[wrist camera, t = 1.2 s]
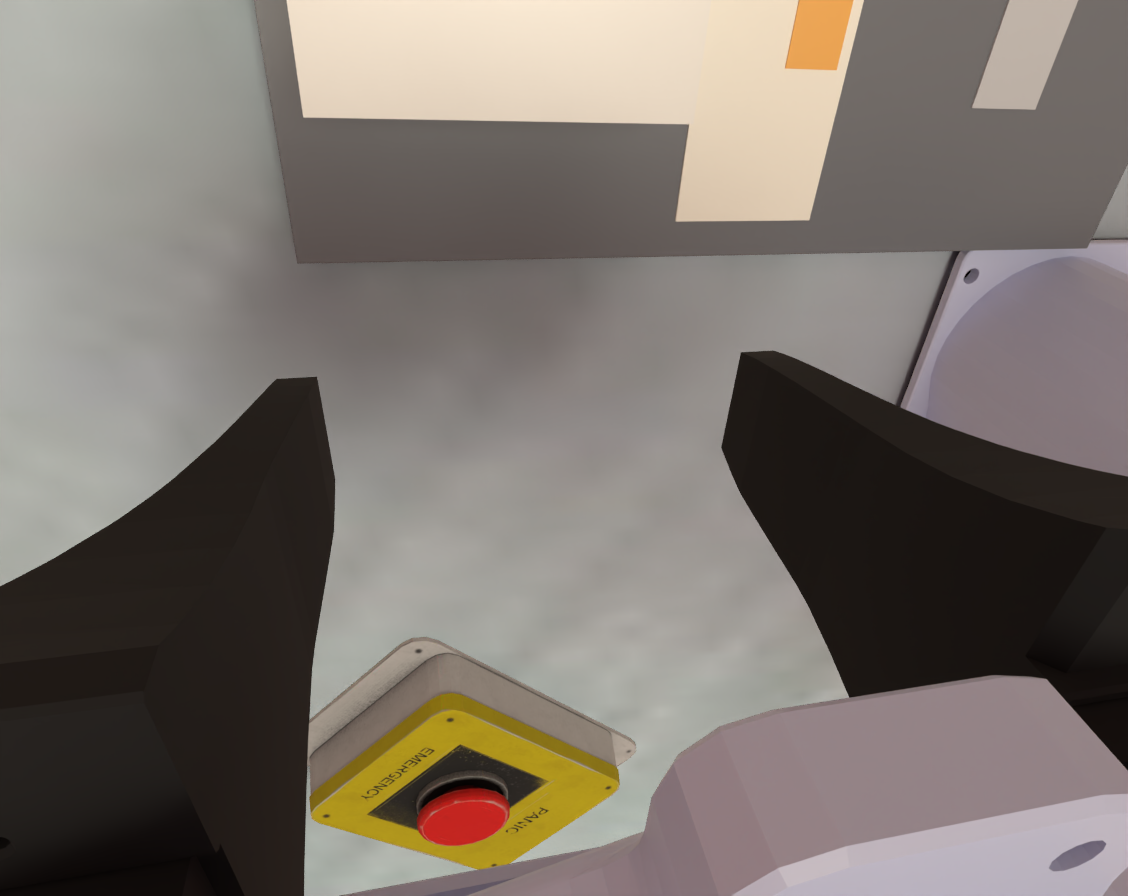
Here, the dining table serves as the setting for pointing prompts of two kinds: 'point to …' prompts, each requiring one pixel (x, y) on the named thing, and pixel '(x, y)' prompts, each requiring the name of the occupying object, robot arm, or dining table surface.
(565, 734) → the emergency button
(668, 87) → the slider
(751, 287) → the dining table surface
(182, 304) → the dining table surface
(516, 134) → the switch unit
